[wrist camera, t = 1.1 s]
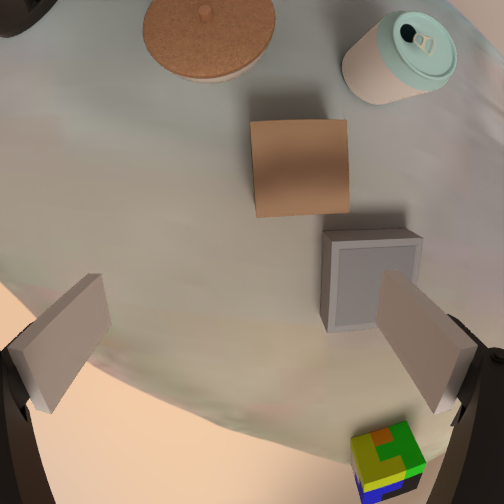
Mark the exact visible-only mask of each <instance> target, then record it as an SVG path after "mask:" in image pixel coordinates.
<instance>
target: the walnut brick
mask: <svg viewBox="0 0 504 504" xmlns="http://www.w3.org/2000/svg"><path fill="white" fill-rule="evenodd" d="M250 136H251V151H252V165H253V180H254V195H255V208H256V217H257V218H262V217H277V216H294V215H313V214H333V213H349V161H348V139H347V122H346V120H330V119H307V120H271V121H253V122H250Z"/></svg>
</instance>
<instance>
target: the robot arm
mask: <svg viewBox="0 0 504 504" xmlns="http://www.w3.org/2000/svg"><path fill="white" fill-rule="evenodd" d="M56 1H57V0H0V37H3V38H8V37H13V36H16V35H18V34H20V33H22V32H24V31H25V30H27V29H28V28H30V27H31V26H32V25H34V24H35V23H36V22H37V21H38V20H40V19H41V18H42V17H43V16H44V15H45V14H46V13H47V12H48V11H49V9H50V8H51V7H52V6H53V5H54V4H55V2H56ZM375 323H376V324H377V326H378V327H379V329H380V330H381V332H382V333H383V335H384V336H385V338H386V339H387V341H388V342H389V344H390V345H391V347H392V348H393V350H394V351H395V353H396V354H397V356H398V358H399V359H400V361H401V362H402V364H403V365H404V367H405V369H406V370H407V372H408V373H409V375H410V376H411V378H412V380H413V381H414V383H415V384H416V386H417V388H418V389H419V391H420V393H421V394H422V396H423V397H424V399H425V401H426V402H427V404H428V406H429V407H430V409H431V411H432V412H433V414H438V413H441V412H445V411H448V410H451V408H452V406H453V404H454V402H455V400H456V398H457V397H458V399H459V400H460V402H461V403H462V404H461V406H460V408H459V410H458V412H457V414H456V416H455V418H454V420H453V422H452V424H451V425H450V426H454V428H453V431H452V435H451V438H450V441H449V445H448V448H447V451H446V454H445V457H444V460H443V463H442V465H441V468H440V471H439V474H438V476H437V479H436V481H435V484H434V486H433V489H432V491H431V494H430V496H429V498H428V501H427V503H426V504H504V349H501V348H496V347H493V348H487V347H486V346H485V345H484V344H483V343H482V342H481V341H480V340H479V339H478V338H477V337H476V336H475V335H474V334H473V333H471V331H470V330H469V329H468V328H467V327H465V325H464V324H463V323H462V322H460V321H459V320H458V319H457V318H455V317H453V316H451V315H449V314H446V313H444V312H443V311H442V310H441V309H440V308H439V307H438V306H437V305H436V304H435V303H434V302H433V301H432V300H431V299H430V298H428V297H427V296H426V295H425V294H424V293H423V292H422V291H421V290H420V289H419V288H417V287H416V286H415V285H414V284H413V283H412V282H411V281H410V280H409V279H407V278H406V277H405V276H404V275H403V274H402V273H401V272H400V271H398V270H383V276H382V283H381V290H380V296H379V303H378V309H377V315H376V320H375ZM111 325H112V322H111V318H110V313H109V309H108V304H107V299H106V294H105V289H104V284H103V279H102V274H87V275H86V276H85V277H84V278H83V279H81V280H80V281H79V282H78V283H77V284H76V285H74V286H73V287H72V288H71V289H70V290H69V291H67V292H66V293H65V294H64V295H63V296H62V297H61V298H60V299H58V300H57V301H56V302H55V303H54V304H53V305H52V306H51V307H49V308H48V309H47V310H46V311H45V312H44V313H43V314H42V315H41V316H40V317H38V318H37V319H36V320H35V321H34V322H32V323H30V324H29V325H28V326H27V327H26V328H25V329H24V330H23V332H20V333H19V334H18V335H17V337H15V338H14V339H13V340H12V341H11V342H10V343H9V344H8V345H7V346H6V347H5V348H4V349H3V350H2V351H0V504H56V503H55V500H54V497H53V495H52V492H51V489H50V486H49V483H48V481H47V477H46V474H45V471H44V468H43V465H42V462H41V458H40V454H39V451H38V447H37V443H36V439H35V435H34V431H33V426H32V422H31V417H30V412H29V409H28V407H27V406H26V402H27V401H28V400H29V398H30V399H31V401H32V402H33V404H34V406H35V408H36V410H39V411H43V412H46V413H50V414H52V413H53V411H54V409H55V408H56V406H57V405H58V403H59V402H60V400H61V398H62V397H63V395H64V394H65V392H66V391H67V389H68V388H69V386H70V385H71V383H72V382H73V380H74V379H75V377H76V376H77V374H78V373H79V371H80V370H81V368H82V367H83V365H84V364H85V362H86V361H87V359H88V358H89V357H90V355H91V354H92V352H93V351H94V349H95V348H96V347H97V345H98V344H99V342H100V341H101V339H102V338H103V337H104V335H105V334H106V332H107V331H108V330H109V328H110V327H111Z"/></svg>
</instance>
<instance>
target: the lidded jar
mask: <svg viewBox="0 0 504 504" xmlns="http://www.w3.org/2000/svg"><path fill="white" fill-rule="evenodd" d="M274 26H275V10H274V7H273V3H272V1H271V0H153V1H152V3H151V5H150V6H149V8H148V10H147V13H146V15H145V18H144V23H143V37H144V42H145V45H146V47H147V49H148V51H149V53H150V54H151V56H152V57H153V58H154V59H155V60H156V61H157V62H158V63H159V64H160V65H162V66H163V67H164V68H166V69H167V70H169V71H171V72H172V73H173V74H175V75H177V76H179V77H181V78H183V79H186V80H189V81H192V82H197V83H220V82H225V81H229V80H231V79H234V78H236V77H238V76H240V75H242V74H244V73H245V72H247V71H248V70H250V69H251V68H252V67H253V66H254V65H255V64H256V63H257V62H258V61H259V60H260V58H261V57H262V56H263V54H264V52H265V50H266V49H267V47H268V44H269V42H270V40H271V37H272V34H273V31H274Z"/></svg>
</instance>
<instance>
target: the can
mask: <svg viewBox="0 0 504 504" xmlns="http://www.w3.org/2000/svg"><path fill="white" fill-rule="evenodd" d="M456 64H457V52H456V48H455V45H454V42H453V40H452V38H451V36H450V35H449V33H448V32H447V30H446V29H445V28H444V27H443V26H442V25H441V24H440V23H439V22H438V21H437V20H435V19H434V18H433V17H431V16H429V15H427V14H425V13H422V12H418V11H397V12H393V13H390V14H388V15H386V16H385V17H384V18H383V19H382V20H381V21H379V22H378V23H377V24H376V25H375V26H374V27H373V28H372V29H371V30H370V31H368V32H367V33H366V34H365V35H364V36H363V37H362V38H361V39H360V40H359V41H358V42H357V43H356V44H355V45H354V46H352V47H351V48H350V49H349V50H348V51H347V53H346V54H345V56H344V58H343V62H342V72H343V77H344V80H345V82H346V84H347V85H348V87H349V88H350V90H351V91H352V92H353V93H354V94H355V95H356V96H357V97H359V98H360V99H362V100H364V101H366V102H368V103H371V104H377V105H382V104H387V103H390V102H394V101H397V100H401V99H404V98H408V97H411V96H415V95H418V94H422V93H426V92H430V91H433V90H437V89H439V88H441V87H442V86H443V85H445V84H446V82H447V81H448V80H449V78H450V76H451V74H452V73H453V72H454V70H455V68H456Z"/></svg>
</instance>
